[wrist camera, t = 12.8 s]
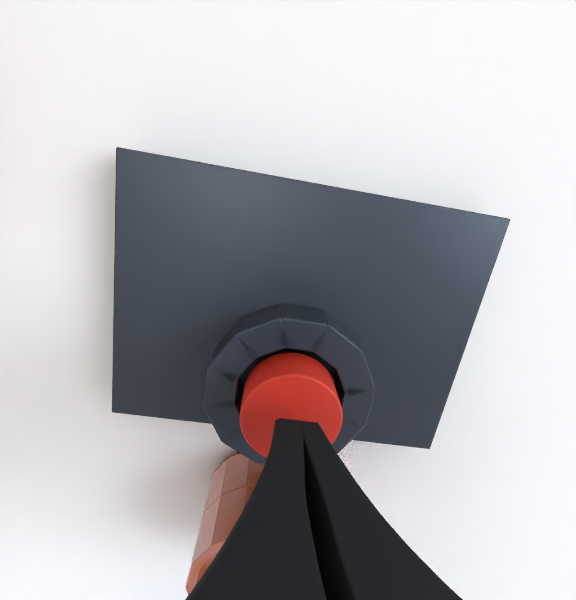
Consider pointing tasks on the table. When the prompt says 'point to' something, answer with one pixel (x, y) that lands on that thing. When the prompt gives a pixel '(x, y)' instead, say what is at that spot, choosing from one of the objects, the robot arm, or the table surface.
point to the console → (289, 295)
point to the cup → (222, 511)
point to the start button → (288, 398)
